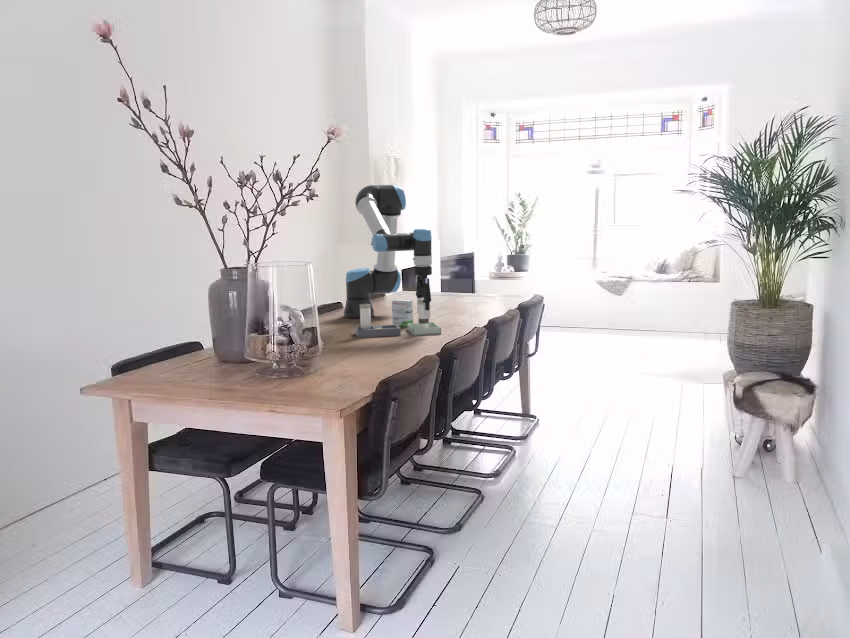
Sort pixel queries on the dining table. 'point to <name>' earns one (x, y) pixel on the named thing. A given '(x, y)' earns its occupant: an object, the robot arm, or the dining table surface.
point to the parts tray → (423, 329)
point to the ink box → (402, 312)
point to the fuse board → (378, 331)
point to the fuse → (365, 316)
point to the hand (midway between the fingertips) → (423, 315)
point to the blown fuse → (422, 316)
